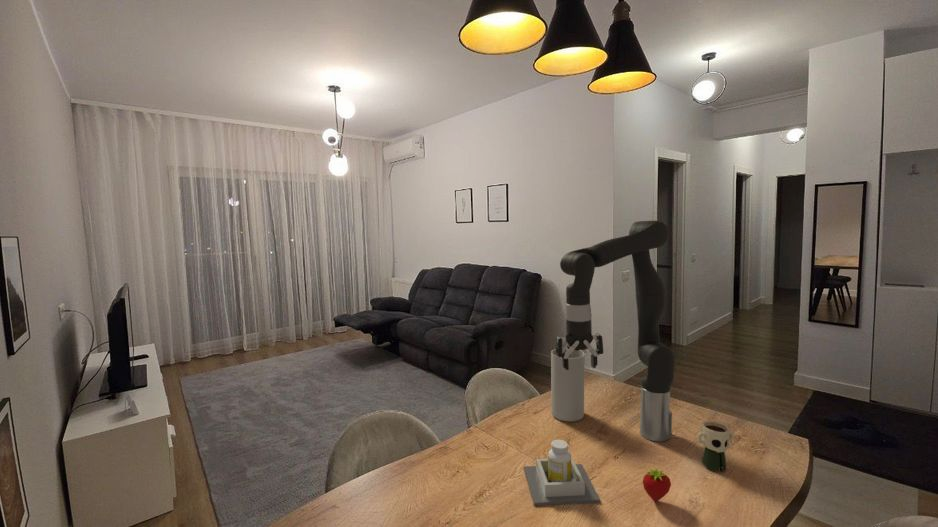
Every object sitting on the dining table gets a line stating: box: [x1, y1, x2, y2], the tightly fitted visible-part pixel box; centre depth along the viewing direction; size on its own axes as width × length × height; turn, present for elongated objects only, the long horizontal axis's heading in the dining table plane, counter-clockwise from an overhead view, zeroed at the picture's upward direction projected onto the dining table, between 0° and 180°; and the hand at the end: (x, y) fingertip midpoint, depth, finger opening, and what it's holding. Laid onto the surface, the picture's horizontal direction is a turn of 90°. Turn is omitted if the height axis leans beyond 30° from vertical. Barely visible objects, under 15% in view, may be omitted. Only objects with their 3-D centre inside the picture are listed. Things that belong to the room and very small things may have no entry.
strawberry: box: [642, 467, 672, 502], centre depth 108 cm, size 6×8×10 cm
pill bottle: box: [547, 439, 572, 482], centre depth 115 cm, size 6×6×12 cm
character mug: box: [697, 420, 734, 472], centre depth 122 cm, size 11×7×13 cm, turn 94°
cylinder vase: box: [550, 347, 585, 423], centre depth 156 cm, size 12×12×25 cm
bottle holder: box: [523, 457, 601, 506], centre depth 116 cm, size 18×16×4 cm
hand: (579, 368), depth 125 cm, fingers open, 8 cm apart
